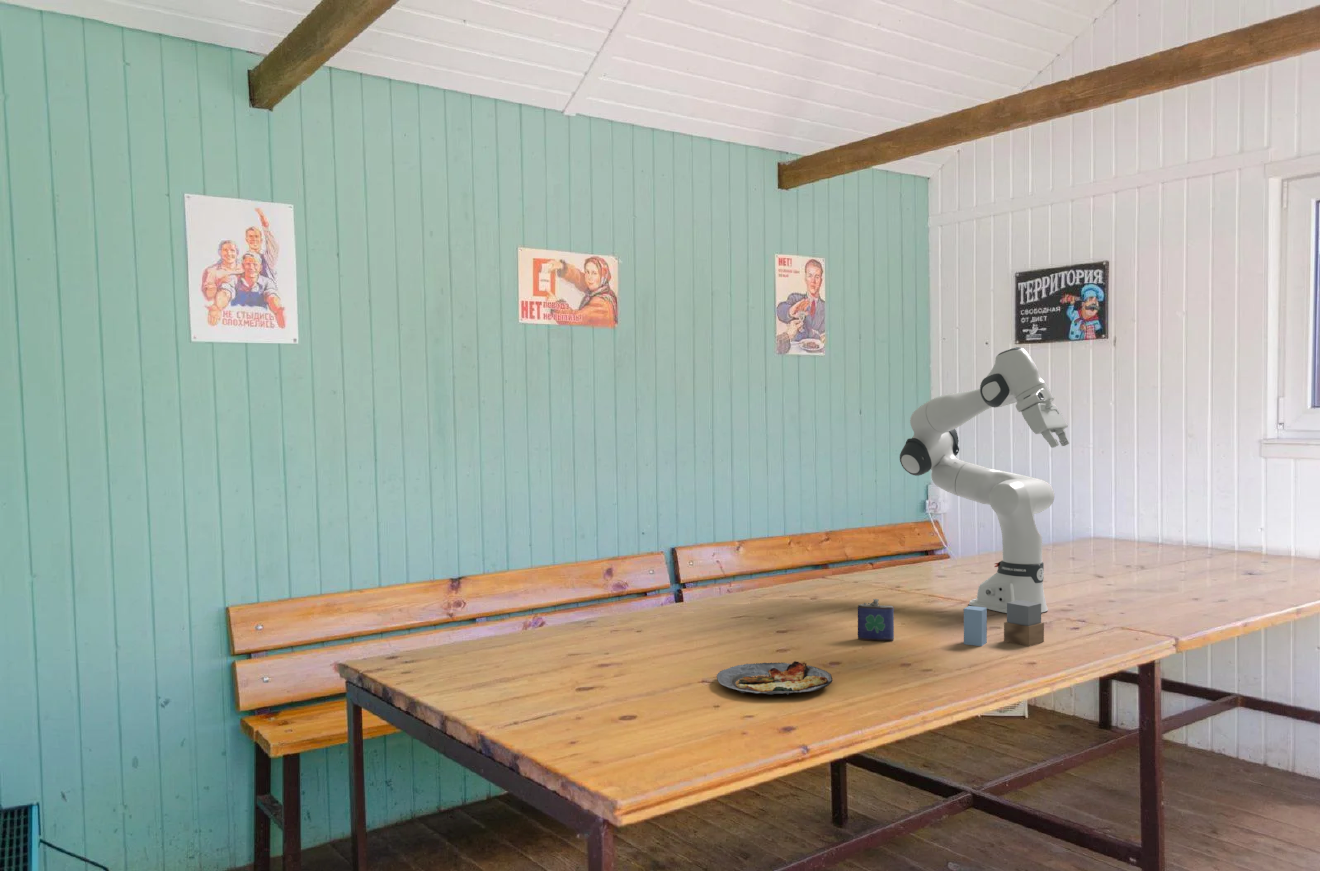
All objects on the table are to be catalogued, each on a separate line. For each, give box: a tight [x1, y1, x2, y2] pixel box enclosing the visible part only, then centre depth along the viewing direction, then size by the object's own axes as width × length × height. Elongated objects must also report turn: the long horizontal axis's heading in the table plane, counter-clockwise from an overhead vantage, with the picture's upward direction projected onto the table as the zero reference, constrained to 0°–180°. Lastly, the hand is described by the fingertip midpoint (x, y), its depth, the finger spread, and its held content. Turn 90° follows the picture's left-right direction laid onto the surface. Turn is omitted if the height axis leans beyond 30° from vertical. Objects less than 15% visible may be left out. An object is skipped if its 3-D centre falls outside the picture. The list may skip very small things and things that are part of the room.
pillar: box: [963, 605, 988, 647], centre depth 247 cm, size 4×4×9 cm
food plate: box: [716, 660, 833, 696], centre depth 211 cm, size 25×23×4 cm
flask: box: [857, 598, 895, 642], centre depth 252 cm, size 9×3×11 cm, turn 74°
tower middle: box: [1006, 600, 1042, 626], centre depth 249 cm, size 6×6×5 cm
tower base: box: [1003, 621, 1045, 647], centre depth 249 cm, size 7×7×5 cm
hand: (1060, 445), depth 261 cm, fingers open, 8 cm apart
